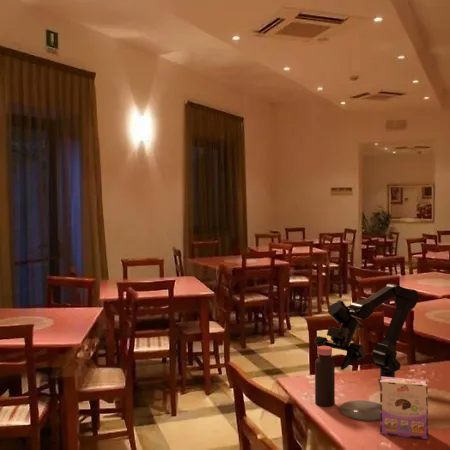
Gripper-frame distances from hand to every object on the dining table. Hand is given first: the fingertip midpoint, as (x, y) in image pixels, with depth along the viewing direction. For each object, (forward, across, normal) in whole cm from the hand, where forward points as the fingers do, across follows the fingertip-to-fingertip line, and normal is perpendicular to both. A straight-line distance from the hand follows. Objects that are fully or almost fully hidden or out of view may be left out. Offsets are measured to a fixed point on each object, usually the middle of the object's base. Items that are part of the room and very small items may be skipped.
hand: (330, 366), depth 191 cm
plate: (+9, +14, +8) cm, 19 cm away
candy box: (+15, +32, +3) cm, 35 cm away
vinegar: (+11, 0, +6) cm, 13 cm away
